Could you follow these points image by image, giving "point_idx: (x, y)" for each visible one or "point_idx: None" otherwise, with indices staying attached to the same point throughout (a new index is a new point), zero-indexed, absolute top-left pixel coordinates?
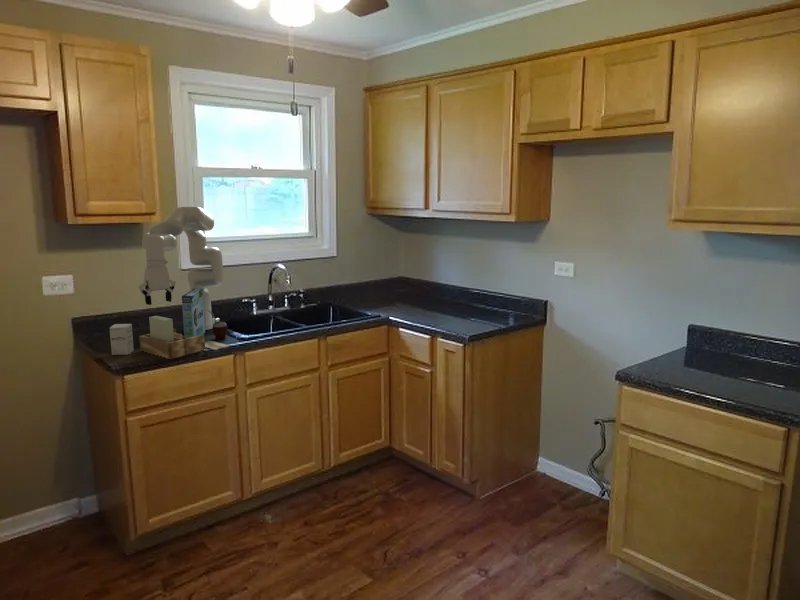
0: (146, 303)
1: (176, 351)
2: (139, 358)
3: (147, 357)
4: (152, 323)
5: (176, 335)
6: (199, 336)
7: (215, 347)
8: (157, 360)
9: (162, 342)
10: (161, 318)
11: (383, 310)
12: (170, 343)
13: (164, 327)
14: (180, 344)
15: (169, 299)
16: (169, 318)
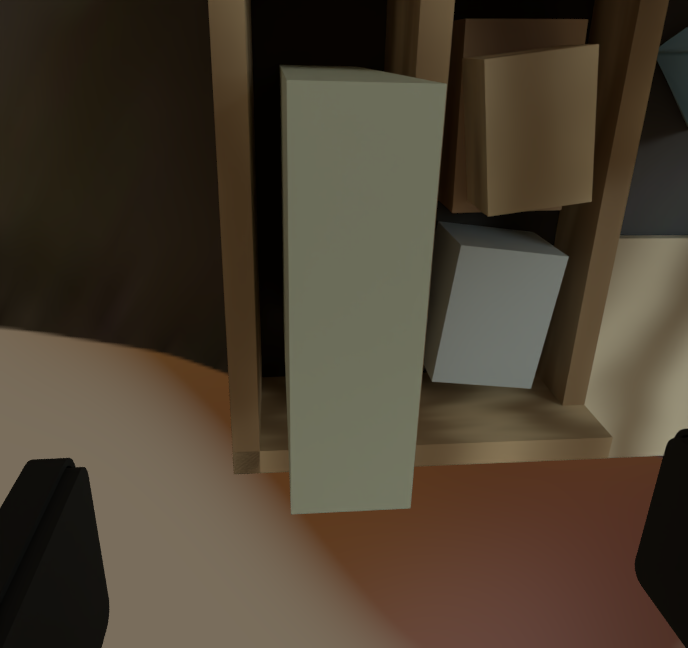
0: (30, 488)
1: None
2: (84, 178)
3: (149, 208)
4: (285, 167)
5: (520, 204)
6: (556, 458)
7: (607, 426)
8: (160, 350)
9: (229, 381)
10: (345, 367)
11: None
12: (250, 470)
13: (288, 429)
14: None
15: (662, 607)
16: (411, 454)
